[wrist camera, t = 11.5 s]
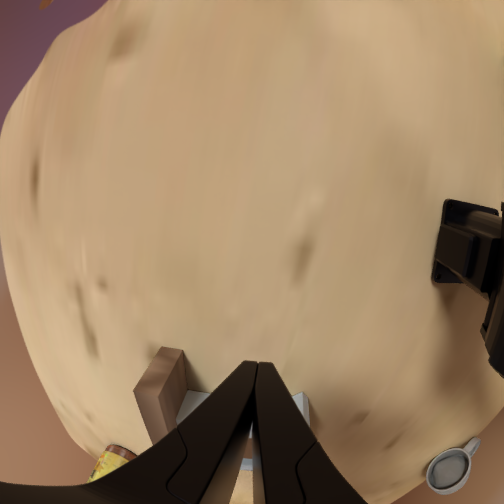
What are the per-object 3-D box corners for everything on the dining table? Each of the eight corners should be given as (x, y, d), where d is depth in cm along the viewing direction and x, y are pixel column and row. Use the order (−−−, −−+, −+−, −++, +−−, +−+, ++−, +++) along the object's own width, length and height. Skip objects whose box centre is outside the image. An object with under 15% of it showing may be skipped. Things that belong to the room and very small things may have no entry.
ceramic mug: (428, 474, 27) (438, 504, 20) (420, 464, 26) (432, 499, 19) (478, 442, 25) (492, 470, 18) (476, 427, 24) (494, 459, 16)
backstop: (182, 350, 22) (157, 396, 16) (199, 455, 27) (189, 491, 21) (161, 346, 22) (133, 390, 17) (184, 451, 27) (172, 487, 22)
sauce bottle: (103, 437, 30) (51, 528, 11) (139, 452, 29) (93, 552, 10) (112, 456, 31) (69, 538, 12) (146, 469, 31) (108, 558, 12)
